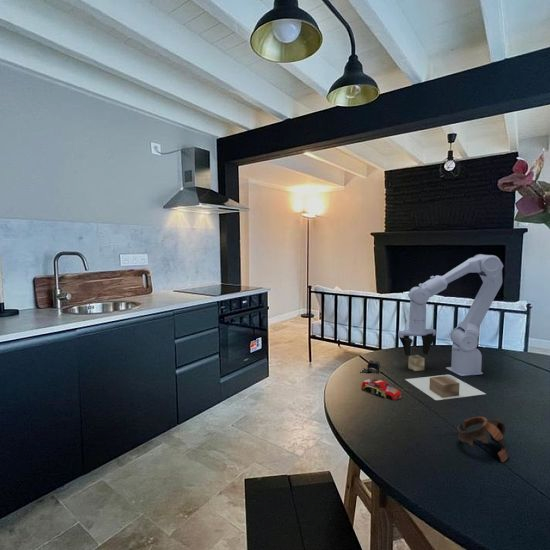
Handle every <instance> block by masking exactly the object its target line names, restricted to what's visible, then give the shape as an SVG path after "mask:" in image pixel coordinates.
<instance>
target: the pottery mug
mask: <svg viewBox="0 0 550 550" xmlns="http://www.w3.org/2000/svg"><path fill="white" fill-rule="evenodd" d="M462 422H463V424H462V423H460V424H458V425H457V427H456V431H457V433H458V436H457V437H458V440H459V442H462V443H467V444H469V446H471V447H474V439H476V440H477V441H480V442H482V444H483V443H484V444H489V443H490V442H489V439H488V434H489V437H490V440H491V442H494V443H497V444H500V447H501V450H500V451H498V452H497V455H498V458H499V460H500V462H501V463H505V462H506V461H507V460H508V459H509V457H510V454H509V451H508V448H507V445H506V441H505V437H504V436H505V433H506V425H505V424H504V423H503V421H502V420H501V419H499V418H491V419H489V420H488V419H487V418H486V417H484V416H473V417H470V418H467V419H465V420H463V421H462ZM479 424H482V425H480V426H478V427H476V428H474V429H470V430H467V429H468V428H470V427H472V426H475V425H479ZM463 425H464V426H463Z"/></svg>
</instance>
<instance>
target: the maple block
mask: <svg viewBox="0 0 550 550" xmlns="http://www.w3.org/2000/svg"><path fill="white" fill-rule="evenodd" d="M407 367H408V370H412V371H413V372H417V371H419V372H420V371H425V358H424V357H423V356H421V355H419V354H415V355H412V354H411V355H410V356H408V365H407Z"/></svg>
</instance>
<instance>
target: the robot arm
mask: <svg viewBox="0 0 550 550" xmlns="http://www.w3.org/2000/svg"><path fill="white" fill-rule="evenodd" d="M503 268H504V264H503V262H502V261H501V259H500V258H499V257H498V256H497V255H493V254H482V253H479V254H475V255H474V256H473V257H469V258H467V260H465V261H463V262H462V263H460V264H459V265H457V266H456V267H453V268H452V269H451V270H450V271H448V272H446V273H445V274H444V275H435V276H434V275H431V276H429V278H430V279H427V280H426V281H425V282H423V283H419V284H418V286H414V287H411V289H409V292H408V293H407V295H408V298H409V300H410V301H409V315H408V316H409V317H408V318H409V319H408V320H409V323H408V327H409V328H408V329H404V330H398V335H397V337H398V338H399V340H400V342H401V344H402V347H403V351H404V355H405V356H407V357H409V356H411V347H412V342H413V339H412V338H410V337H420V336H421V340H422V354H424V355H426V356H427V355H429V352H430V349H431V346H432V344H433V343H434V341H435V339H436V334H437V330H436V329H434V328H427V327H426V326H427V302H428V301H429V300H430V298H432V297H434V296H436V295H437V294H439V293H440V292H441V293H442V292H443V291H444V290H447V287H448V284H450V283H452V282H453V281H455V280H457V279H460V278H461V277H463V276H465V275H467V274H470V273H477V274H478V275H479V277H480V278H481V280H482V284H481V286H480V288H479V290H478V292H477V294H476V295H475V297H474V299H473V302H472V303H471V305H470V308H469V309H468V312H467V313H466V315H465V317H464V319H463V320H461V322H459V323H458V324H457V326H456V327H455V328H454V329H453V330H451V332H450V340H451V341H452V342H453V343H452V345H451V364H450V365H451V366H447V367H445V369H446V370H449V371H450V372H453V373H454V374H456V375H459V376H460V377H462V376H463V377H464V376H477V375H483V374H484V373H483V372H482V363H483V361H482V359H483V358H482V357H483V355H482V353H481V351H480V350H479V349H478V348H477V347H478V344H479V341H478V340H479V337H480V326H481V324H482V323H483V320H484V318H485V316H486V315H487V313H488V312H489V310H490V308H491V306H492V304H493V302H494V299H495V297H496V296H497V294H498V292H499V291H500V289H501V287H502V285H503Z"/></svg>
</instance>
